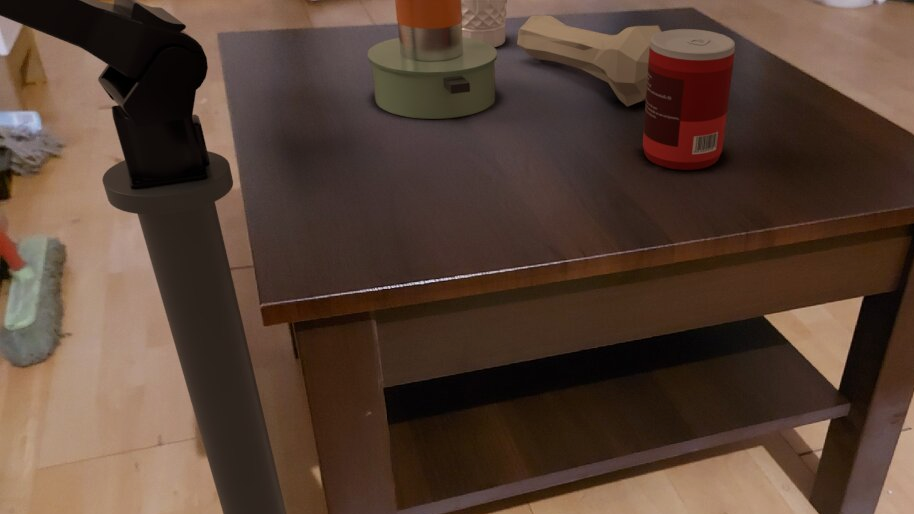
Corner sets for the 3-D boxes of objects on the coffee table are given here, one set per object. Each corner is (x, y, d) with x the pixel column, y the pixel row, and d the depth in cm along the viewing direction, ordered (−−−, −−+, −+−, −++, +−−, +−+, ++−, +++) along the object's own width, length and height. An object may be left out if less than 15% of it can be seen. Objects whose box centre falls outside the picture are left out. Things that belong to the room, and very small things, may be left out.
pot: (397, 133, 86) (392, 83, 84) (354, 81, 99) (349, 36, 96) (523, 116, 92) (523, 69, 89) (468, 68, 104) (466, 26, 102)
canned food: (728, 147, 87) (743, 34, 81) (710, 177, 80) (725, 57, 74) (655, 135, 89) (664, 24, 83) (631, 163, 82) (639, 46, 76)
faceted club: (628, 111, 91) (490, 63, 107) (681, 117, 97) (543, 71, 113) (647, 24, 88) (502, -12, 104) (701, 35, 94) (556, -1, 110)
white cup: (437, 45, 112) (431, -38, 106) (467, 30, 118) (463, -49, 113) (491, 53, 110) (489, -31, 104) (519, 38, 116) (518, -42, 110)
